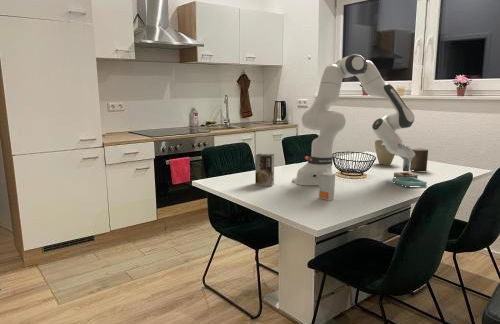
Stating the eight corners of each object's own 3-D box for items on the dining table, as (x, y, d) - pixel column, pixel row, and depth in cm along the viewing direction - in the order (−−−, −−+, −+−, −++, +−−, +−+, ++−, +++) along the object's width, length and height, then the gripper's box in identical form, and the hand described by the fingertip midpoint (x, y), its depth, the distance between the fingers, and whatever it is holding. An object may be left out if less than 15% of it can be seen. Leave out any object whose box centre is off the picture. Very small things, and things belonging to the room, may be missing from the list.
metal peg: (405, 171, 217) (406, 150, 215) (401, 170, 220) (403, 149, 218) (410, 171, 218) (412, 150, 216) (406, 170, 221) (408, 149, 219)
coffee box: (274, 183, 208) (274, 154, 205) (271, 186, 202) (272, 156, 199) (257, 182, 210) (258, 153, 207) (254, 185, 204) (255, 155, 201)
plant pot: (380, 161, 273) (382, 139, 270) (400, 164, 262) (402, 141, 259) (368, 164, 264) (370, 140, 261) (388, 167, 252) (390, 143, 250)
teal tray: (406, 187, 200) (406, 183, 200) (392, 182, 212) (393, 178, 211) (426, 186, 203) (426, 182, 202) (411, 181, 214) (412, 177, 214)
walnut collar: (403, 181, 215) (403, 175, 214) (393, 177, 223) (394, 172, 223) (417, 180, 217) (417, 175, 216) (407, 176, 225) (407, 171, 225)
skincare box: (318, 198, 181) (319, 173, 178) (323, 196, 184) (324, 171, 181) (329, 200, 176) (330, 175, 174) (334, 199, 179) (335, 173, 177)
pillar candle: (427, 172, 237) (429, 148, 234) (410, 171, 240) (412, 147, 237) (425, 170, 246) (427, 146, 243) (409, 168, 249) (411, 145, 246)
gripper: (409, 141, 204) (423, 158, 208) (387, 136, 224) (400, 152, 228) (401, 149, 204) (415, 167, 208) (379, 144, 224) (393, 160, 228)
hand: (407, 159), depth 218 cm, fingers closed on metal peg, 3 cm apart
